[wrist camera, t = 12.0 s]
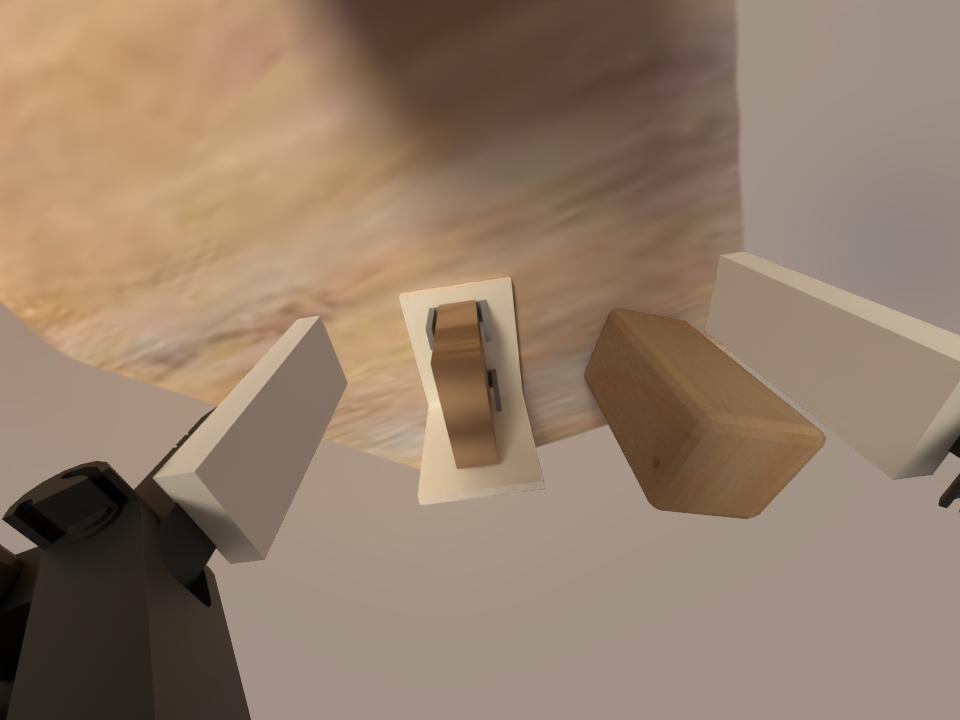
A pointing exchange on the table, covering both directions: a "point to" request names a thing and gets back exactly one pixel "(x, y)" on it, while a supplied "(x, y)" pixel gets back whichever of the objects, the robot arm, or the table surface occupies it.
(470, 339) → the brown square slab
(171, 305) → the table surface
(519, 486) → the l-bracket with handles
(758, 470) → the wooden block
